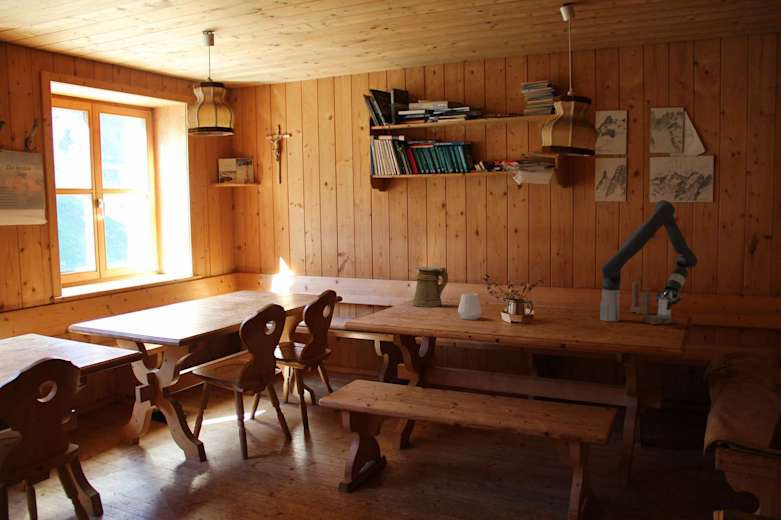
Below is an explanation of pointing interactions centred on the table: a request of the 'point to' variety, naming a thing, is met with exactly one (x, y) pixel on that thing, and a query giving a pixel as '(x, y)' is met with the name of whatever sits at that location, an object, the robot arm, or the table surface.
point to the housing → (663, 307)
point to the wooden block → (640, 300)
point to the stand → (658, 320)
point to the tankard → (429, 286)
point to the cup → (469, 306)
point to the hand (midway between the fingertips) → (662, 308)
